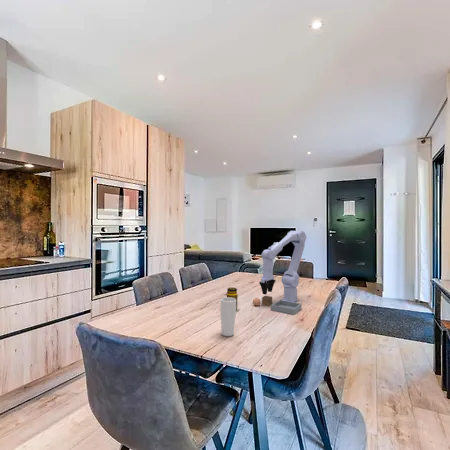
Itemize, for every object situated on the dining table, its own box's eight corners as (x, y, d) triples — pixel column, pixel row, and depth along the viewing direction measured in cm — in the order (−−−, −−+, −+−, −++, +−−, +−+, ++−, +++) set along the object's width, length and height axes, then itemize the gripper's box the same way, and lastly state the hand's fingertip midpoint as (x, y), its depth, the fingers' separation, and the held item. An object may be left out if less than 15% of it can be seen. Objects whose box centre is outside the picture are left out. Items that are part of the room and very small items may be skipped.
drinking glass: (235, 331, 125) (235, 297, 124) (236, 337, 118) (237, 301, 118) (219, 331, 124) (220, 297, 124) (219, 337, 118) (220, 301, 117)
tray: (279, 305, 167) (279, 299, 167) (301, 309, 160) (301, 303, 160) (270, 310, 156) (271, 305, 156) (293, 315, 149) (293, 309, 149)
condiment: (234, 313, 150) (234, 290, 150) (220, 310, 154) (220, 288, 154) (240, 309, 157) (240, 287, 156) (226, 306, 161) (227, 285, 161)
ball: (254, 304, 168) (254, 296, 168) (261, 305, 165) (261, 297, 165) (251, 305, 164) (251, 298, 164) (258, 307, 162) (258, 299, 162)
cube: (265, 303, 171) (265, 295, 171) (272, 304, 168) (272, 296, 168) (261, 304, 167) (262, 297, 167) (269, 306, 164) (269, 298, 164)
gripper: (266, 267, 176) (266, 289, 176) (256, 270, 163) (255, 294, 164) (277, 269, 172) (276, 291, 172) (267, 272, 160) (266, 296, 160)
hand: (267, 292), depth 167 cm, fingers open, 7 cm apart
